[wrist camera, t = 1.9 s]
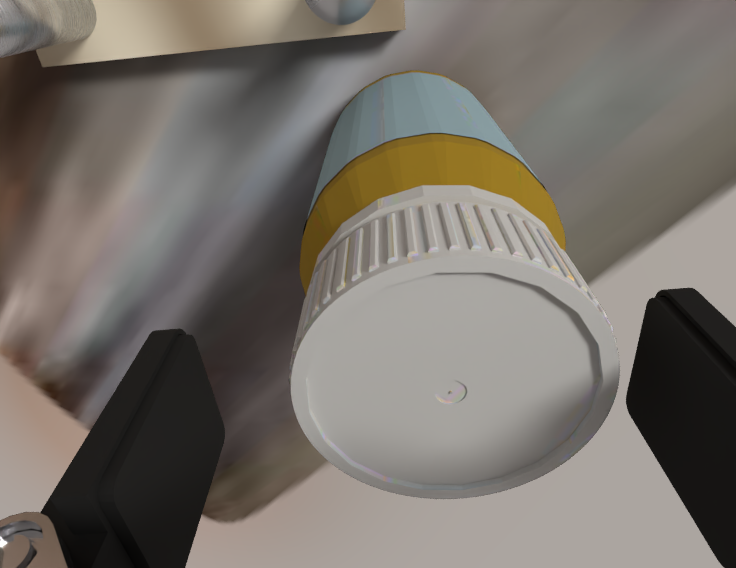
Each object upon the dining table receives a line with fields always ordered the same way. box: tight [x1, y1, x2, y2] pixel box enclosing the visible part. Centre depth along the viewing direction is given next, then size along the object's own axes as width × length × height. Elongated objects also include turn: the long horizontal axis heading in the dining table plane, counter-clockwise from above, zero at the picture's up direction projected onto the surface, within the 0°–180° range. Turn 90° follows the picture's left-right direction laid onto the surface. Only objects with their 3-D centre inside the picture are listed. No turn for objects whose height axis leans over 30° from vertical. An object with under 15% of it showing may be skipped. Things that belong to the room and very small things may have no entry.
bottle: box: [289, 71, 620, 499], centre depth 16 cm, size 7×7×15 cm
